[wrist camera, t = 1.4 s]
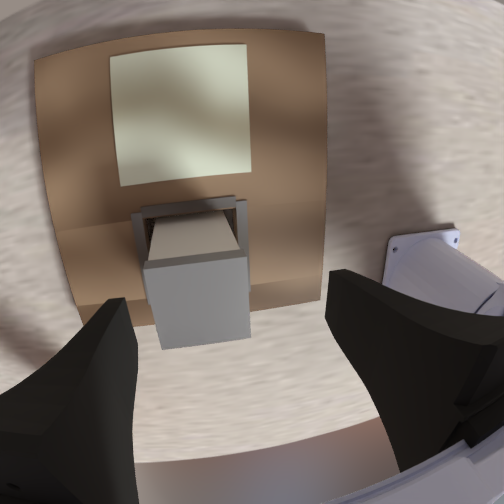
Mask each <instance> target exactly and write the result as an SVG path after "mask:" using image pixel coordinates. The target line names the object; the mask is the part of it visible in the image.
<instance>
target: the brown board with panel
mask: <svg viewBox="0 0 504 504" xmlns="http://www.w3.org/2000/svg"><path fill="white" fill-rule="evenodd" d="M34 78H35V102H36V116H37V127H38V137H39V146H40V154H41V161H42V168H43V174H44V180H45V186H46V191H47V197H48V202H49V207H50V212H51V216H52V221H53V225H54V229H55V234H56V238H57V242H58V246H59V249H60V253H61V257H62V261H63V264H64V268H65V271H66V274H67V278H68V281H69V284H70V288H71V291H72V294H73V297H74V300H75V303H76V306H77V309H78V312H79V314H80V317H81V320H82V323H83V325H85V324H86V323H87V322H88V321H89V320H90V318H91V317H92V316H93V315H94V314H95V313H96V312H97V310H98V309H99V308H100V307H101V306H102V305H103V304H104V303H105V302H106V301H107V300H108V299H111V298H121V297H125V299H126V303H127V307H128V311H129V314H130V318H131V322H132V325H133V327H136V326H145V325H154V324H155V321H154V316H153V312H152V308H151V304H150V299H149V295H148V290H147V286H146V281H145V276H144V271H143V268H144V263H145V261H148V257H149V252H150V240H149V234H148V228H147V221H146V219H147V218H155V217H162V216H170V215H179V214H187V213H196V212H204V211H213V210H223V209H232V212H233V229H234V237H235V239H236V241H237V244H238V246H239V248H240V249H243V250H244V252H245V254H246V256H247V269H248V289H249V309H250V312H252V311H258V310H265V309H271V308H277V307H283V306H289V305H295V304H301V303H306V302H312V301H318V300H320V296H321V283H322V270H323V254H324V237H325V215H326V187H327V82H326V55H325V36H324V34H322V33H313V32H303V31H291V30H276V29H203V30H187V31H175V32H165V33H157V34H149V35H141V36H135V37H128V38H123V39H117V40H112V41H106V42H102V43H97V44H92V45H88V46H84V47H79V48H75V49H71V50H68V51H64V52H60V53H57V54H53V55H50V56H47V57H43V58H40V59H37V60H34Z"/></svg>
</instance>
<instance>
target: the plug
mask: <svg viewBox="0 0 504 504" xmlns="http://www.w3.org/2000/svg"><path fill="white" fill-rule="evenodd" d="M143 271H144V276H145V281H146V286H147V290H148V295H149V299H150V304H151V308H152V312H153V316H154V321H155V325H156V329H157V333H158V337H159V341H160V344H161V348H162V350H165V349H174V348H182V347H190V346H198V345H206V344H213V343H220V342H227V341H233V340H240V339H246V338H251V329H250V309H249V289H248V269H247V256H246V254H245V252H244V250H243V249H240V248H239V246H238V244H237V241H236V239H235V237H234V235H233V233H232V230H231V228H230V226H229V224H228V221H227V219H226V217H225V215H224V213H223V210H217V211H207V212H199V213H190V214H182V215H173V216H165V217H157V218H156V220H155V225H154V230H153V235H152V241H151V246H150V252H149V257H148V261H145V263H144V268H143Z"/></svg>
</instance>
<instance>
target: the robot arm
mask: <svg viewBox="0 0 504 504" xmlns="http://www.w3.org/2000/svg"><path fill="white" fill-rule="evenodd" d="M459 237H460V230H458V229H457V228H453V229H445V230H438V231H430V232H422V233H414V234H406V235H398V236H393V237H392V238H390V240H389V243H388V250H387V257H386V263H385V270H384V276H383V282H382V284H380V283H378V282H375V281H373V280H371V279H369V278H366V277H364V276H362V275H360V274H357V273H355V272H352V271H349V270H346V269H341V270H334V271H330V272H329V283H328V293H327V302H326V311H325V319H326V321H327V324H328V326H329V328H330V330H331V332H332V334H333V336H334V339H335V340H336V342H337V343H338V345H339V346H340V348H341V349H342V351H343V353H344V354H345V356H346V357H347V359H348V360H349V362H350V363H351V365H352V366H353V368H354V369H355V371H356V372H357V374H358V375H359V377H360V378H361V380H362V381H363V383H364V385H365V386H366V388H367V390H368V392H369V394H370V396H371V398H372V400H373V402H374V404H375V406H376V409H377V411H378V413H379V415H380V418H381V420H382V422H383V425H384V427H385V429H386V432H387V435H388V437H389V440H390V442H391V445H392V448H393V451H394V454H395V457H396V460H397V464H398V467H399V470H400V473H399V474H397V475H395V476H393V477H391V478H388V479H386V480H383V481H381V482H379V483H376V484H374V485H371V486H369V487H367V488H364V489H361V490H359V491H356V492H353V493H350V494H348V495H345V496H342V497H339V498H336V499H333V500H330V501H327V502H323V503H320V504H493V503H494V502H495V501H496V500H497V499H498V498H500V497H501V496H502V495H503V494H504V281H503V280H502V279H501V278H499V277H498V276H496V275H495V274H493V273H492V272H490V271H489V270H487V269H486V268H484V267H483V266H481V265H480V264H478V263H477V262H475V261H474V260H472V259H471V258H469V257H468V256H466V255H465V254H463V253H461V252H460V251H458V250H457V247H458V242H459ZM394 247H395V249H394V250H393V248H394ZM137 374H138V343H137V339H136V336H135V332H134V329H133V325H132V322H131V318H130V314H129V311H128V307H127V303H126V299H125V297H121V298H111V299H108V300H107V301H106V302H105V303H104V304H103V305H102V306H101V307H100V308H99V309H98V310H97V312H96V313H95V314H94V315H93V316H92V317H91V318H90V320H89V321H88V322H87V323H86V324H85V325H84V326H83V327H82V329H81V330H80V331H79V332H78V333H77V334H76V335H75V336H74V337H73V338H72V339H71V340H70V341H69V342H68V343H67V344H66V345H65V346H64V347H63V348H62V349H61V350H60V351H59V352H58V353H57V354H56V355H55V356H54V357H53V358H51V359H50V360H49V361H48V362H47V363H46V364H44V365H43V366H42V367H41V368H40V369H38V370H37V371H35V372H34V373H33V374H31V375H30V376H29V377H27V378H26V379H24V380H23V381H22V382H20V383H19V384H17V385H16V386H14V387H12V388H11V389H9V390H8V391H6V392H4V393H2V394H1V395H0V504H139V499H138V492H137V485H136V477H135V468H134V456H133V438H132V423H133V411H134V401H135V392H136V382H137Z"/></svg>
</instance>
